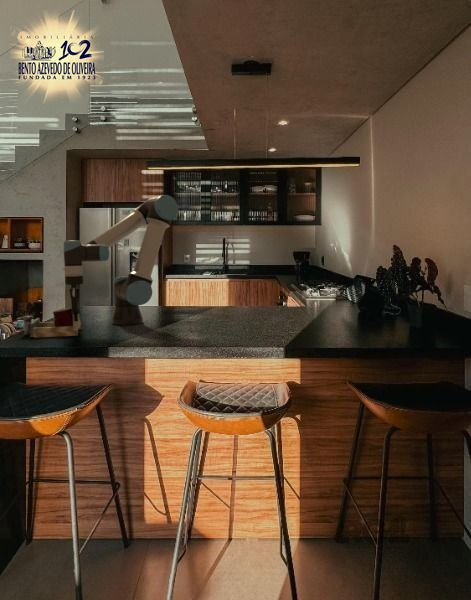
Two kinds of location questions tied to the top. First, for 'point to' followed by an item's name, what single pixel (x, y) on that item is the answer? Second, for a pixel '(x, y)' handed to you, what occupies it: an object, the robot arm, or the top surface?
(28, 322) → the winch post
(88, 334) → the top surface
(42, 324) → the wooden tray
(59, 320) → the mug
